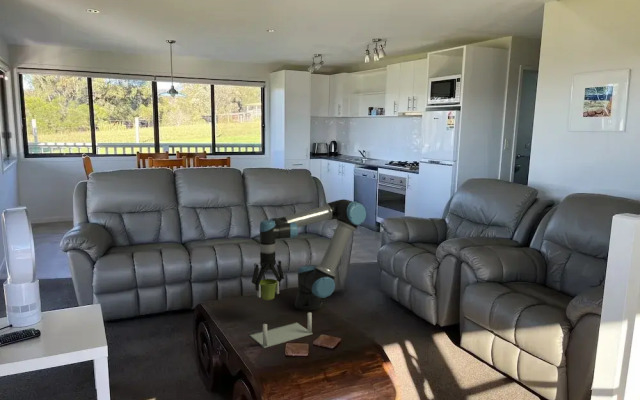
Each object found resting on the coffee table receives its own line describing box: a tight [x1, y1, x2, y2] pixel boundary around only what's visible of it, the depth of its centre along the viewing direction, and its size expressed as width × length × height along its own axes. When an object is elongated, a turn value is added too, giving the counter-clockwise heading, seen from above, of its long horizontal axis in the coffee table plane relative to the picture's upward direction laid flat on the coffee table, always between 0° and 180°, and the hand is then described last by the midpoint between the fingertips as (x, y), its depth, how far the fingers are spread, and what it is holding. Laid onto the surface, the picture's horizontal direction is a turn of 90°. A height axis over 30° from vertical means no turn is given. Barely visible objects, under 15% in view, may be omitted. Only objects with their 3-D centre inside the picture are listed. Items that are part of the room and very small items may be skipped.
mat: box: [249, 311, 313, 349], centre depth 218 cm, size 26×15×10 cm, turn 124°
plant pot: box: [259, 278, 277, 301], centre depth 229 cm, size 9×9×9 cm
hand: (268, 294), depth 229 cm, fingers closed on plant pot, 9 cm apart
